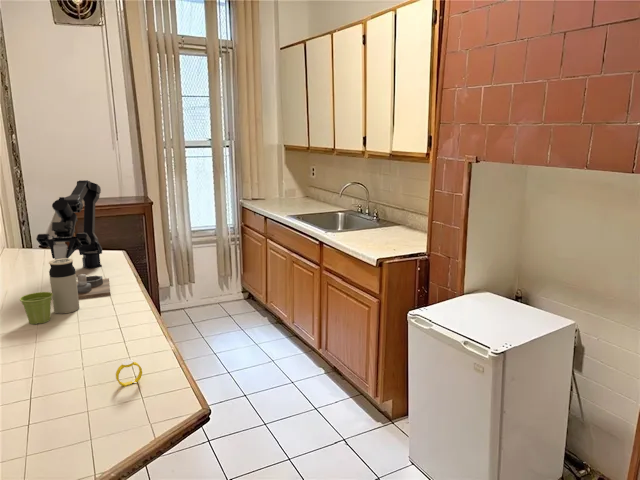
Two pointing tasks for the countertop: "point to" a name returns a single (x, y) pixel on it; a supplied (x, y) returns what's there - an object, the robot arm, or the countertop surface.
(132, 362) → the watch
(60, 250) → the beverage can
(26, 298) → the plant pot
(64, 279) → the travel mug
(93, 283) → the pin board
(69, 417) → the countertop surface
